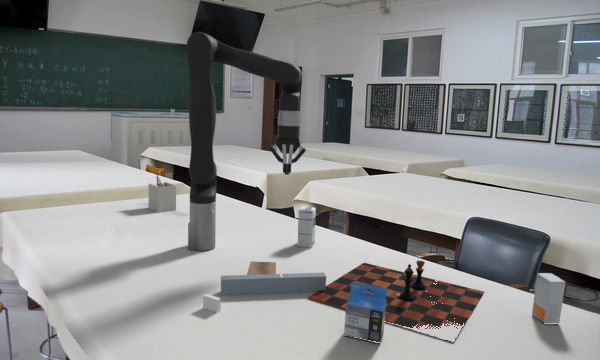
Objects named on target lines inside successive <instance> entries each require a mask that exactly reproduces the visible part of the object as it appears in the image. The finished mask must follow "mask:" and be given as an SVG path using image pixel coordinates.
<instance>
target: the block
mask: <svg viewBox="0 0 600 360" xmlns="http://www.w3.org/2000/svg"><path fill="white" fill-rule="evenodd" d="M260 274H277V262H276V261H274V262H273V261H253V260H251V261H250V262H249V266H248V270H247V274H246V275H260Z"/></svg>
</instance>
